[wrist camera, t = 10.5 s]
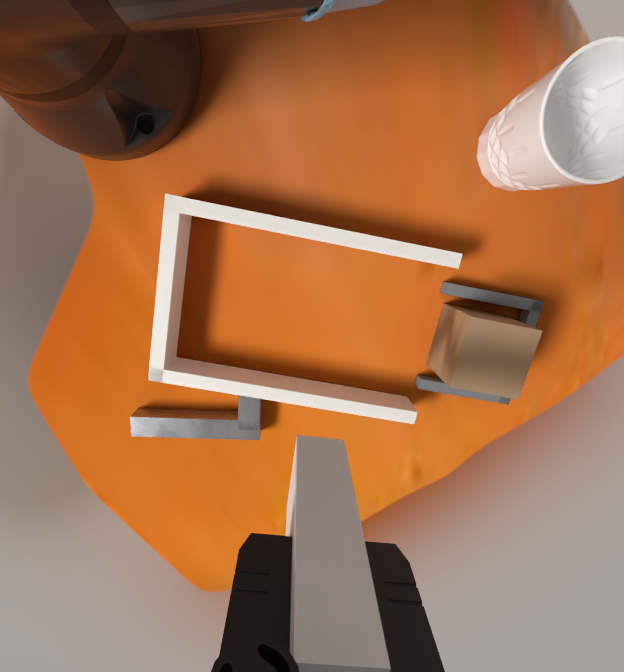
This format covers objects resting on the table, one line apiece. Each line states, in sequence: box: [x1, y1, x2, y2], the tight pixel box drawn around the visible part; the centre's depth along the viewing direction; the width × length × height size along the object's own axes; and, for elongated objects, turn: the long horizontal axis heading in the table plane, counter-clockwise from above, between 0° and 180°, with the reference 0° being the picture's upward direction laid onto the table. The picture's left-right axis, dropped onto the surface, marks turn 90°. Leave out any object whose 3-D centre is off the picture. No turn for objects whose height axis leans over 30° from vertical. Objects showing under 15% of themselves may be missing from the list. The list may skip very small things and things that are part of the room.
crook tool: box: [130, 395, 262, 440], centre depth 37 cm, size 5×12×2 cm, turn 87°
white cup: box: [477, 36, 624, 191], centre depth 28 cm, size 8×8×10 cm
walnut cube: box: [426, 304, 543, 400], centre depth 34 cm, size 6×6×6 cm
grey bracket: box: [415, 281, 544, 404], centre depth 36 cm, size 10×9×1 cm
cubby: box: [148, 194, 462, 424], centre depth 34 cm, size 15×24×4 cm, turn 79°
